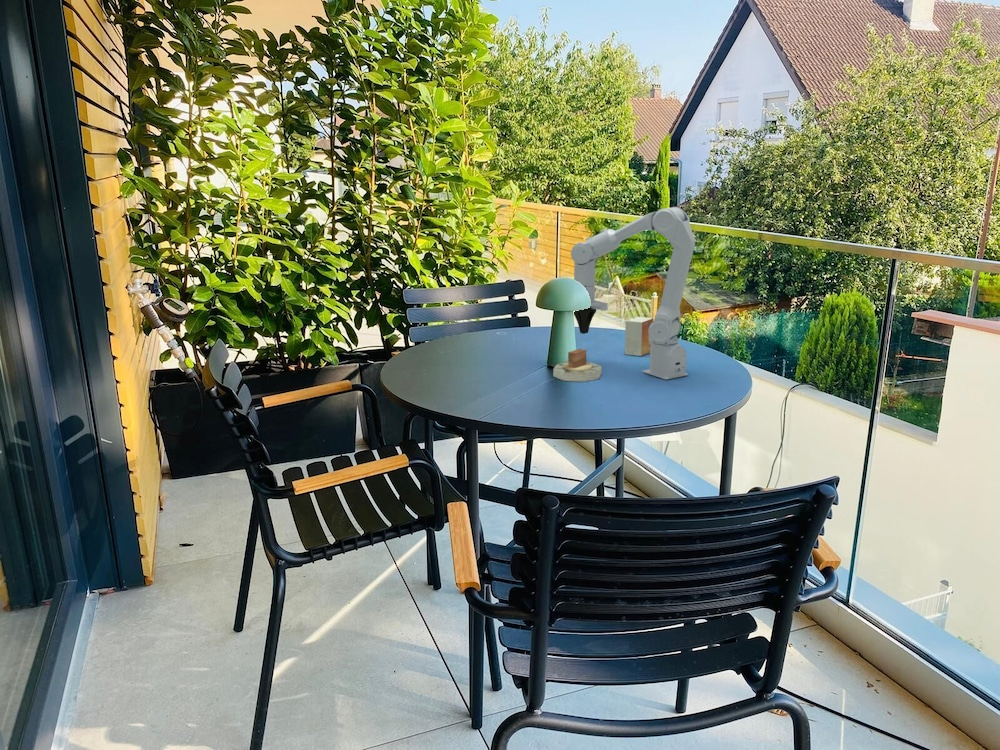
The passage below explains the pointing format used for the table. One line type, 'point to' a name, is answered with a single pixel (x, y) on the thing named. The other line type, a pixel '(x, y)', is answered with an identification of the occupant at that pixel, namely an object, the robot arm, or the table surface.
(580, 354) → the cap
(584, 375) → the flat stone slab
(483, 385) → the table surface
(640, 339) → the small box
